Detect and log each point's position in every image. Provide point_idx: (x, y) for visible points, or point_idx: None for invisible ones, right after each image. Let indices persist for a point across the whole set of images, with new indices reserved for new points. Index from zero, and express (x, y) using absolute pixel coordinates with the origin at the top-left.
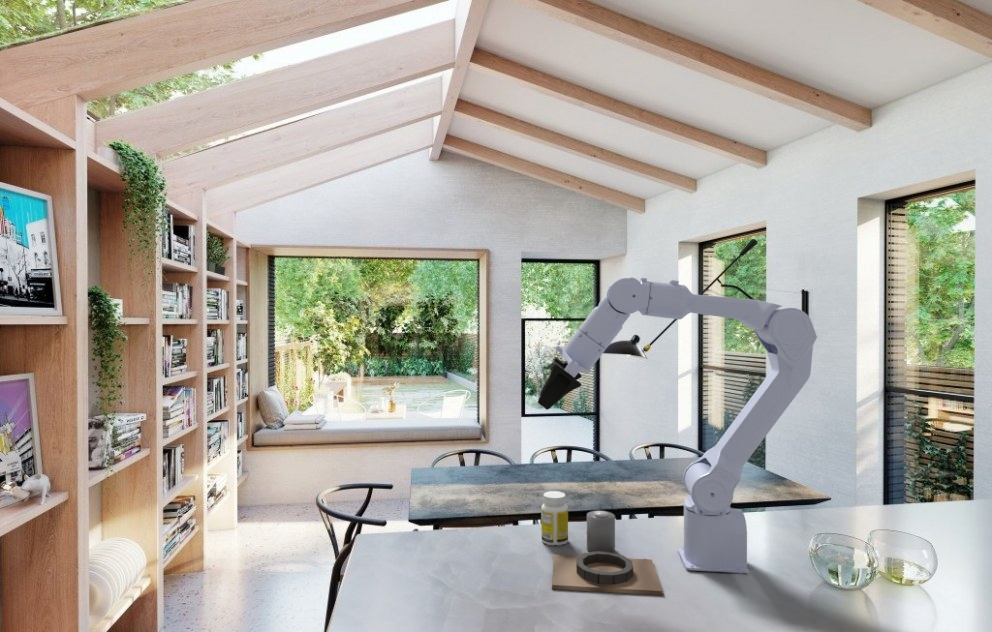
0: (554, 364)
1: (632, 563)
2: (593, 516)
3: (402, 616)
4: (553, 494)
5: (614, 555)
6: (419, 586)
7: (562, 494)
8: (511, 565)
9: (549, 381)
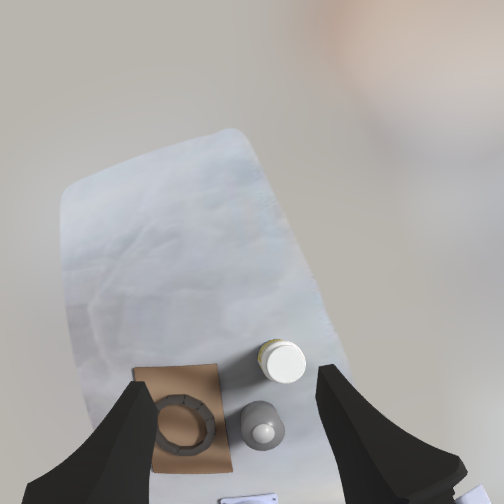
0: (24, 500)
1: (214, 453)
2: (256, 423)
3: (69, 232)
4: (285, 363)
5: (205, 439)
6: (118, 226)
7: (289, 378)
8: (184, 313)
9: (78, 451)
